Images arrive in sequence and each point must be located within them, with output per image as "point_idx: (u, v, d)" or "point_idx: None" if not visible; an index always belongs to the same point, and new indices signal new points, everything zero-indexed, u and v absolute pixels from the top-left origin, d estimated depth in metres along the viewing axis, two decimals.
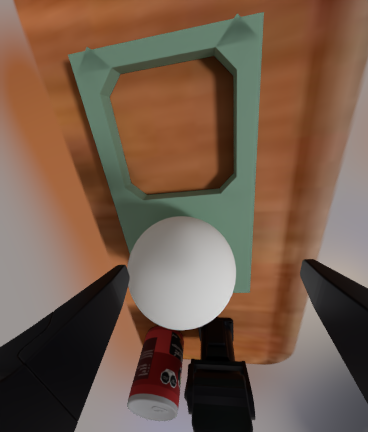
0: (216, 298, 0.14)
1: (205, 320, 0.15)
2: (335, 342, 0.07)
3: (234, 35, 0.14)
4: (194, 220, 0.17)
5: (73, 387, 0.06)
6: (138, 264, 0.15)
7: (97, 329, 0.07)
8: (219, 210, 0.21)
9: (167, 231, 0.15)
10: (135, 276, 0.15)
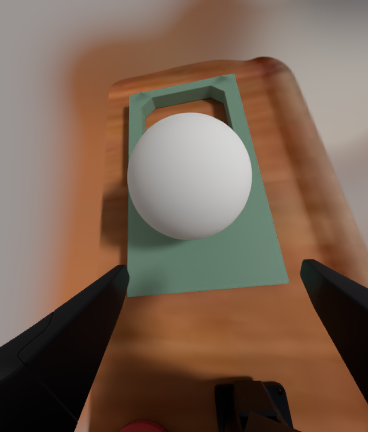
0: (228, 134, 0.12)
1: (218, 155, 0.11)
2: (335, 342, 0.07)
3: (220, 81, 0.27)
4: None
5: (73, 387, 0.06)
6: None
7: (97, 329, 0.07)
8: None
9: None
10: (141, 136, 0.14)
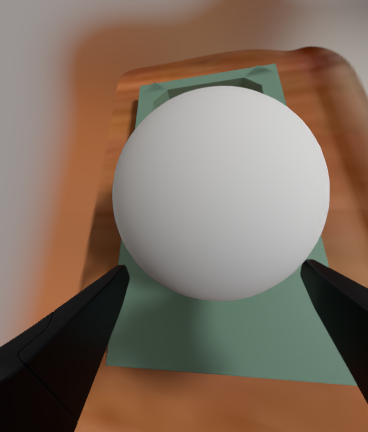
0: (297, 117, 0.07)
1: (286, 148, 0.05)
2: (335, 342, 0.07)
3: (257, 72, 0.21)
4: None
5: (73, 387, 0.06)
6: None
7: (97, 329, 0.07)
8: None
9: None
10: None
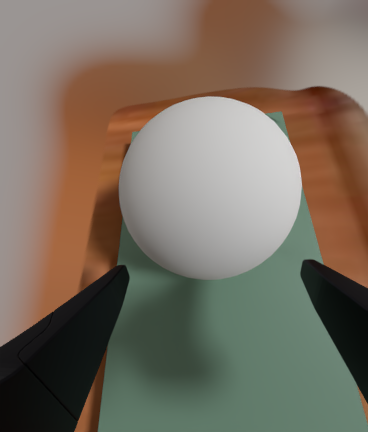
0: None
1: None
2: (335, 342, 0.07)
3: None
4: None
5: (73, 387, 0.06)
6: None
7: (97, 329, 0.07)
8: (270, 274, 0.14)
9: None
10: None
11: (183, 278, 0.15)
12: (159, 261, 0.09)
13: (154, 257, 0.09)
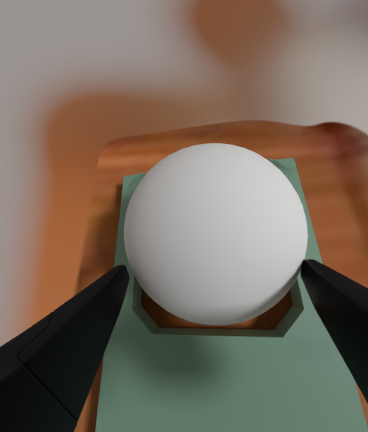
0: None
1: None
2: (335, 342, 0.07)
3: None
4: None
5: (73, 387, 0.06)
6: None
7: (97, 329, 0.07)
8: (286, 376, 0.12)
9: None
10: None
11: (182, 374, 0.12)
12: (154, 248, 0.07)
13: (149, 243, 0.08)
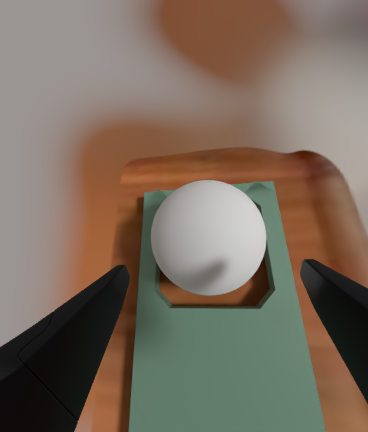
0: None
1: None
2: (335, 342, 0.07)
3: (256, 189, 0.22)
4: None
5: (73, 387, 0.06)
6: None
7: (97, 329, 0.07)
8: (261, 333, 0.17)
9: None
10: None
11: (191, 333, 0.18)
12: (170, 247, 0.13)
13: (167, 244, 0.14)
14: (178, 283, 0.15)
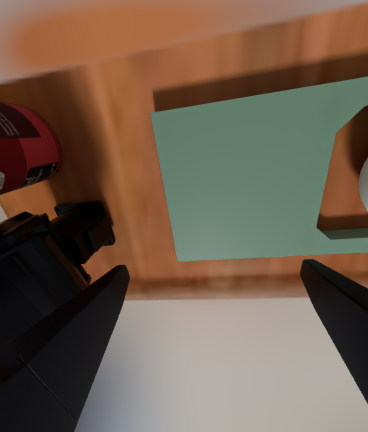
0: None
1: None
2: (335, 342, 0.07)
3: None
4: (362, 200, 0.16)
5: (73, 387, 0.06)
6: None
7: (97, 329, 0.07)
8: (295, 227, 0.20)
9: None
10: None
11: (302, 163, 0.17)
12: None
13: None
14: None
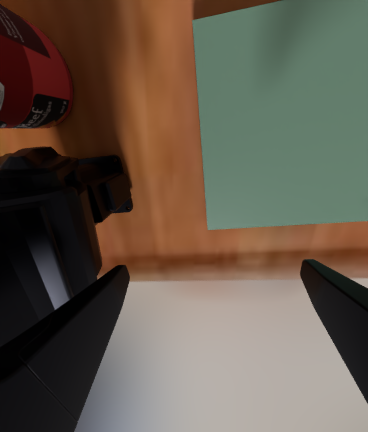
0: None
1: None
2: (335, 342, 0.07)
3: None
4: None
5: (73, 387, 0.06)
6: None
7: (97, 329, 0.07)
8: (358, 182, 0.16)
9: None
10: None
11: None
12: None
13: None
14: None
